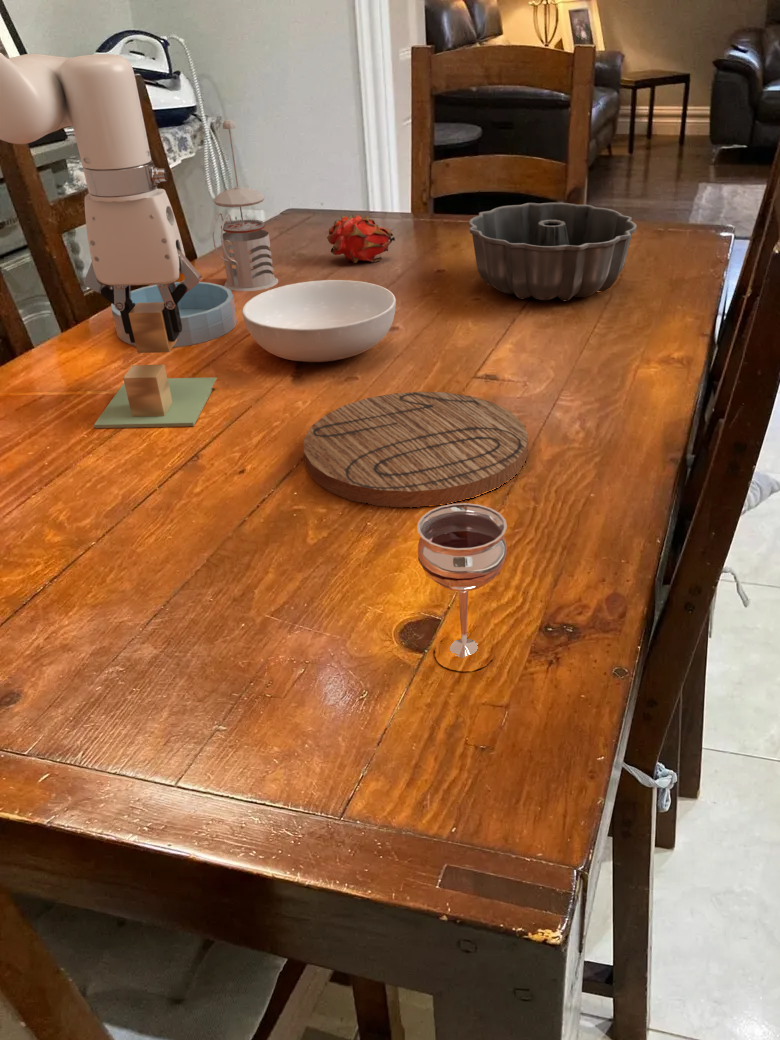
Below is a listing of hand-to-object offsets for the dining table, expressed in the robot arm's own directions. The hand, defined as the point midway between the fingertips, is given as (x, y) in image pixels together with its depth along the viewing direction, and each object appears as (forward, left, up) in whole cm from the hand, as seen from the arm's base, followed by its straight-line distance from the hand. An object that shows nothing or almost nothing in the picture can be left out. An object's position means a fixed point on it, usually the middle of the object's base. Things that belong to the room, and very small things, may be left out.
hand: (155, 336), depth 116 cm
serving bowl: (+19, +13, -7) cm, 24 cm away
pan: (-4, +23, -7) cm, 25 cm away
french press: (+3, +43, -7) cm, 44 cm away
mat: (0, -4, -7) cm, 8 cm away
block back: (0, 0, -1) cm, 1 cm away
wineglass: (+38, -55, -7) cm, 67 cm away
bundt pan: (+53, +40, -7) cm, 67 cm away
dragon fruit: (+21, +57, -7) cm, 62 cm away
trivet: (+33, -19, -7) cm, 38 cm away
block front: (0, -7, -7) cm, 9 cm away
